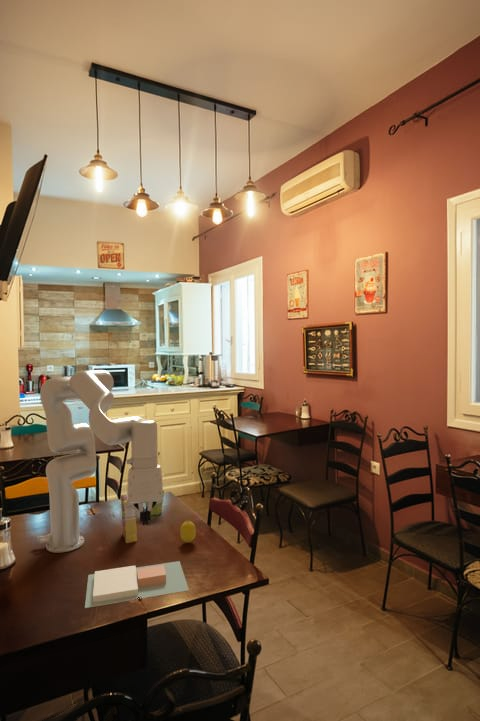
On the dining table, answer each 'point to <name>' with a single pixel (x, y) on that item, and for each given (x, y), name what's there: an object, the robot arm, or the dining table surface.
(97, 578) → the block
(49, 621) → the dining table surface
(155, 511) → the plant pot
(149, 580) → the terracotta tile
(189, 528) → the lemon
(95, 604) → the rubber mat
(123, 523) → the candy box
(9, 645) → the dining table surface
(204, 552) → the dining table surface
